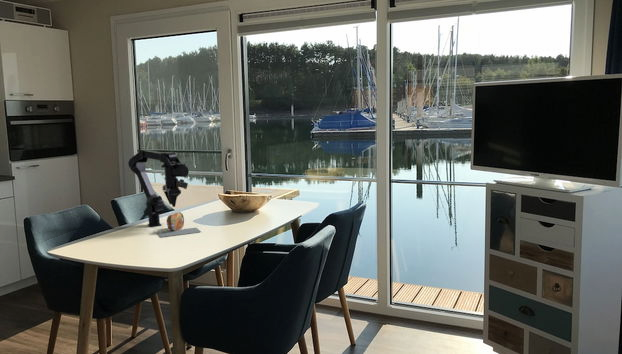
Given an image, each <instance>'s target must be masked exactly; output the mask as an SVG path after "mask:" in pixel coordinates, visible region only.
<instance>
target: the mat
mask: <svg viewBox="0 0 622 354" xmlns="http://www.w3.org/2000/svg"><path fill="white" fill-rule="evenodd" d="M200 232H201V233H202V231H201V230H200V229H199V228H198V227H191V228H190V227H189V228H183V229H182V228H180V229H178V230H176V231H170V230H167V231H159V232H156V234H157V235H158V236H159V237H160V238H168V237H176V236H183V235H184V236H185V235H191V234H199V233H200Z"/></svg>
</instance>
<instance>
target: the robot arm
mask: <svg viewBox="0 0 622 354" xmlns="http://www.w3.org/2000/svg"><path fill="white" fill-rule="evenodd" d="M149 159H152V160H157V161H160V163H162V165H161V169H162V168H163V169H164V178H163V179H164V181H165V183H164V184H163V185H162V187H161V189H162V192H163V193H164V195H165V197H166V199H167V201H168V204H169V205H171V206H172V207H173V208H175V207H176V203H177V199H178V197H179V196H180V195H181V194H182V190H181V189H184V190H187V188H188V185H189V183H188V182H185V180H184V179H182V178H186V177H187V176H188V175H189V168H188V167H187V166H186V163H182V162H181V160H180V159H179V157H178V154H176V152H175V151H167V152H160V151H155V150H151V149H140V150H139V151H138V152H137V153H135V155H133V156H131V158H129V160H128V163H127V164H128V167H129V169H130V170H131V171H132V173H134V175H136V176H137V179H138V180H139V184H140V185H141V188H142V190H143V192H144V194H145V197H146V201H145V202H146V203H145V204H146V207H145V209H144V211H143V214H144V216H146V217H148V218H147V219H148V223H147V226H148V227H149V228H151V227H159V226H162V224H161V221H160V214H163V212H164V207H165V204H164V201H163V198H162V196H161V195H157V193H156V192H155V190H154V188H153V185H152V183H151V181H150V178H149V176H148V174H147V170H146V169H147V164H146V163H147V162H148V161H149ZM178 177H179V178H180V179H178ZM180 188H181V189H180Z"/></svg>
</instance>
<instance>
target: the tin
mask: <svg viewBox="0 0 622 354" xmlns="http://www.w3.org/2000/svg"><path fill="white" fill-rule="evenodd" d="M166 225H167V229H168V231H176V230H180V229H182V228H183V227H184V225H185V217H184V215H183V213H182V212H181V211H179V212H174V213H173V214H169V215H168V216H167V217H166Z"/></svg>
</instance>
